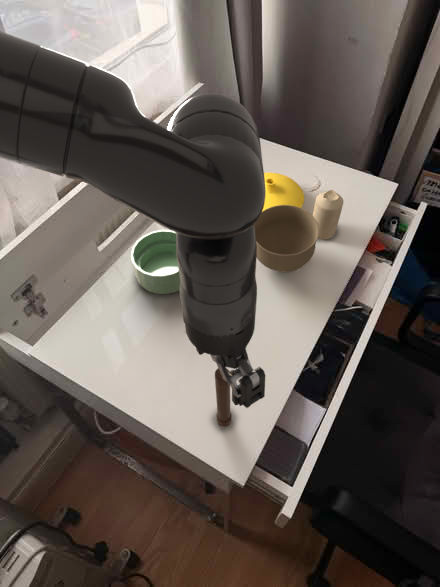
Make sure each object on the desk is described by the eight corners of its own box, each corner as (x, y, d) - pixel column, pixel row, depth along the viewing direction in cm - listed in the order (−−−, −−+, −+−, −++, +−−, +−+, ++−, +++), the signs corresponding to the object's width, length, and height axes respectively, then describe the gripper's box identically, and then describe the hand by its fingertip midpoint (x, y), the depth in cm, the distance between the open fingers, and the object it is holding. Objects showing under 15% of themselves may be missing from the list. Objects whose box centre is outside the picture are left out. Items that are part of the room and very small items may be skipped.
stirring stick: (222, 429, 69) (219, 385, 56) (213, 417, 70) (209, 371, 57) (234, 421, 70) (235, 376, 56) (226, 409, 71) (224, 362, 58)
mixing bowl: (153, 305, 84) (148, 286, 79) (126, 265, 90) (120, 245, 85) (206, 277, 87) (204, 258, 82) (176, 241, 93) (173, 221, 89)
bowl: (237, 267, 89) (238, 232, 81) (272, 231, 95) (275, 195, 87) (290, 296, 84) (296, 262, 76) (323, 256, 90) (332, 221, 82)
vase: (234, 183, 105) (234, 158, 99) (300, 183, 104) (304, 159, 98) (233, 229, 95) (233, 205, 90) (305, 231, 95) (310, 206, 89)
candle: (314, 218, 97) (322, 182, 89) (338, 226, 95) (348, 190, 87) (306, 235, 94) (313, 199, 86) (330, 242, 92) (340, 207, 84)
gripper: (152, 273, 46) (170, 348, 59) (227, 375, 39) (228, 435, 52) (212, 244, 48) (216, 322, 62) (292, 334, 41) (278, 402, 54)
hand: (222, 374), depth 57 cm, fingers open, 8 cm apart
